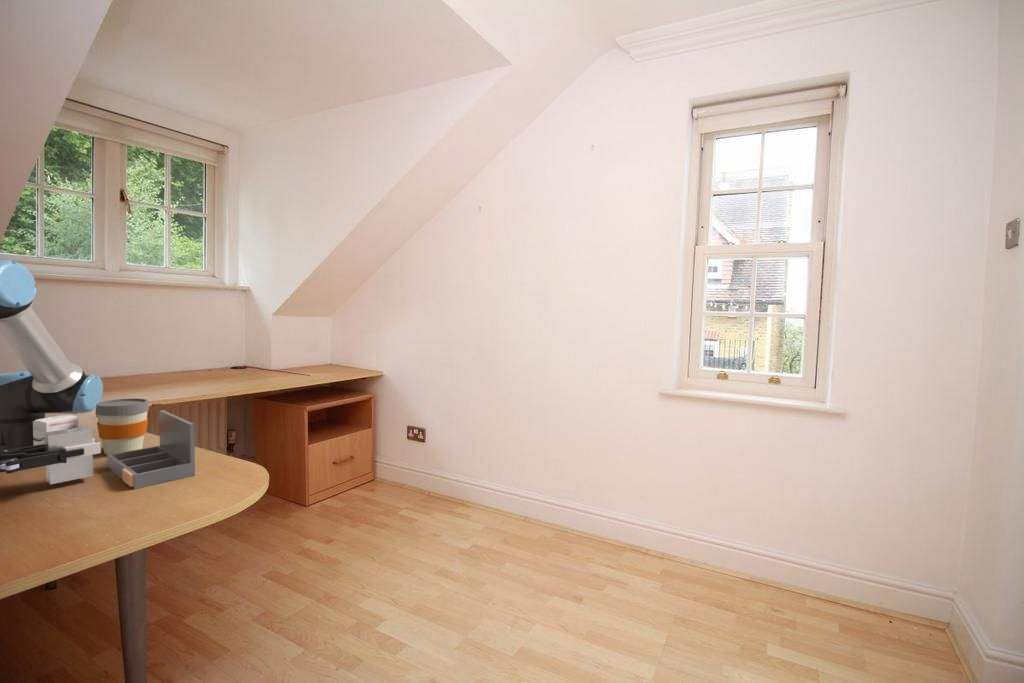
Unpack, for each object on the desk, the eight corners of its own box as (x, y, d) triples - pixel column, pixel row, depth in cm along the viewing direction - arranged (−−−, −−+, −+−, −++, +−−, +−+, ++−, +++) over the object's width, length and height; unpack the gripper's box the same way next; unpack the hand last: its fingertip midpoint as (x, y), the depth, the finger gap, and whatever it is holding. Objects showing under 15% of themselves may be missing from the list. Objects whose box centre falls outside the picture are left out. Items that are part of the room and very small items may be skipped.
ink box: (46, 464, 132) (45, 422, 131) (32, 462, 133) (31, 420, 132) (80, 454, 140) (79, 415, 139) (67, 453, 141) (65, 413, 140)
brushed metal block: (46, 480, 117) (44, 432, 116) (89, 471, 124) (87, 426, 123) (50, 484, 115) (48, 435, 114) (93, 475, 121) (91, 429, 120)
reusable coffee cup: (115, 459, 137) (115, 408, 136) (85, 454, 141) (84, 403, 140) (159, 448, 149) (159, 400, 148) (130, 443, 153) (129, 396, 152)
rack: (104, 468, 130) (103, 417, 129) (164, 456, 141) (163, 410, 140) (131, 489, 117) (130, 433, 116) (194, 475, 128) (194, 424, 127)
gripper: (-45, 475, 110) (88, 452, 128) (-36, 496, 99) (107, 467, 118) (-46, 443, 109) (88, 425, 128) (-38, 461, 99) (106, 438, 118)
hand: (97, 445), depth 123 cm, fingers closed on brushed metal block, 4 cm apart
